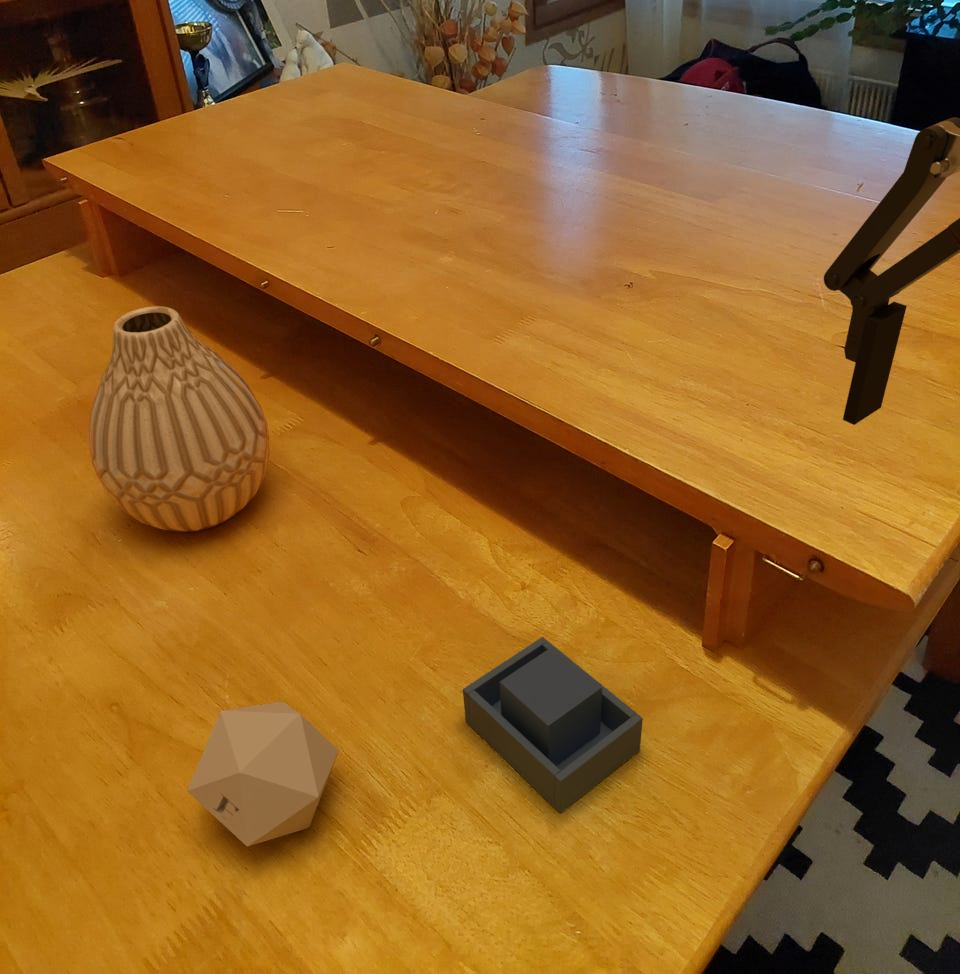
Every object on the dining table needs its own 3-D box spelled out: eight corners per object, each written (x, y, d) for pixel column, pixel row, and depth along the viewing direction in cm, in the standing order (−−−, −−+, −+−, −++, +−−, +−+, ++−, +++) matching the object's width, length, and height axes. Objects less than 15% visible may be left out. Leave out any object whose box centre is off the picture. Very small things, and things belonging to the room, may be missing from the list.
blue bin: (640, 750, 65) (643, 717, 63) (560, 814, 62) (560, 781, 59) (542, 668, 72) (542, 636, 70) (465, 721, 68) (462, 688, 66)
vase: (246, 564, 83) (194, 370, 71) (84, 551, 86) (8, 361, 74) (303, 462, 96) (267, 282, 84) (160, 452, 98) (105, 277, 86)
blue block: (600, 733, 66) (602, 686, 63) (548, 772, 64) (548, 725, 60) (552, 692, 69) (552, 645, 66) (501, 728, 67) (499, 681, 64)
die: (202, 781, 66) (140, 787, 56) (284, 679, 67) (237, 668, 58) (290, 861, 64) (241, 882, 54) (373, 755, 65) (339, 757, 56)
